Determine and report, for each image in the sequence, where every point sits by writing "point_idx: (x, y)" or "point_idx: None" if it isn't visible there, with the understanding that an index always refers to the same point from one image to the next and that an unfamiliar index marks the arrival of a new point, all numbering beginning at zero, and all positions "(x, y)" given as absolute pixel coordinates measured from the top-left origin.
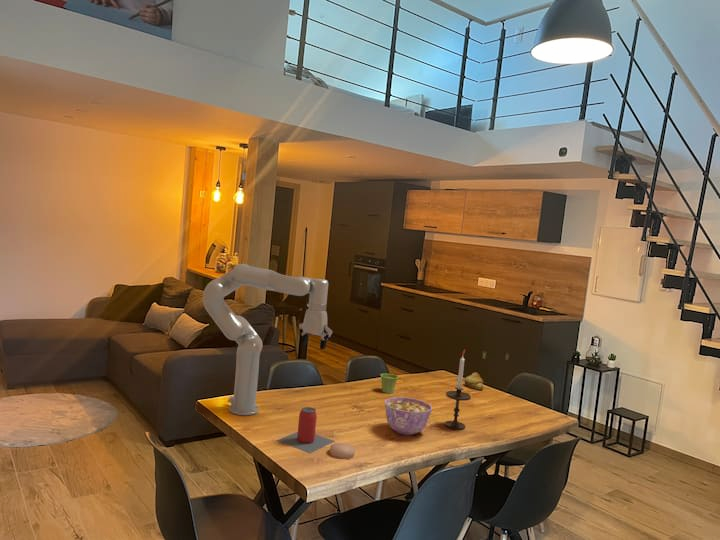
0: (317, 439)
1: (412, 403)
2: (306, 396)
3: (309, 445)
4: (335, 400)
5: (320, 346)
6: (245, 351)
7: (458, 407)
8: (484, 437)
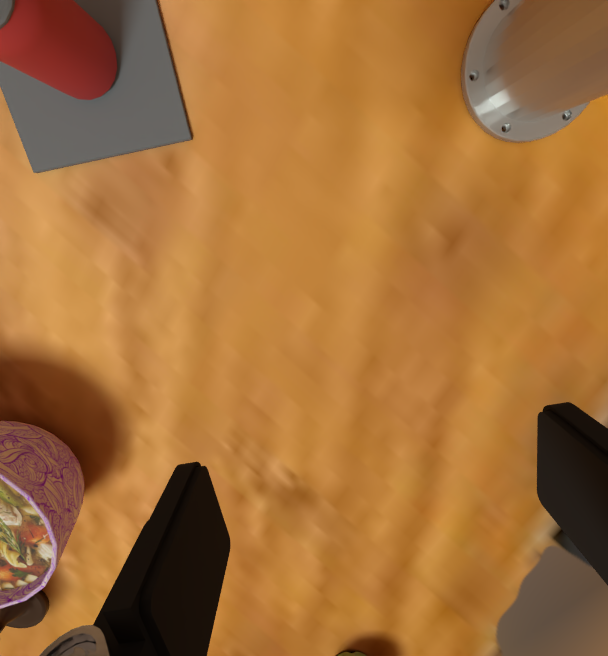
0: (75, 118)
1: (10, 575)
2: (487, 427)
3: None
4: (388, 482)
5: (178, 489)
6: None
7: None
8: None
